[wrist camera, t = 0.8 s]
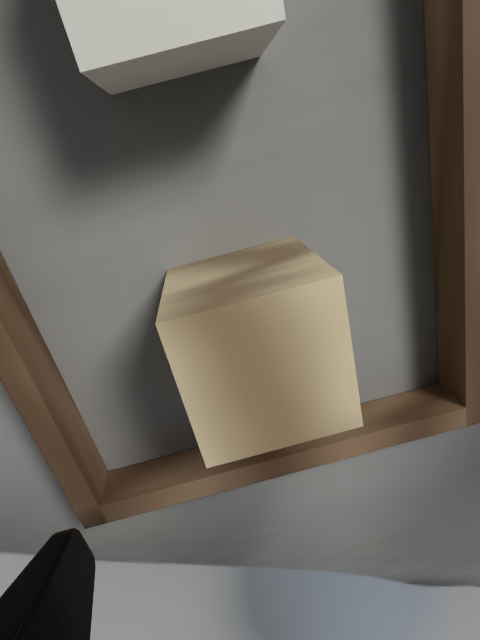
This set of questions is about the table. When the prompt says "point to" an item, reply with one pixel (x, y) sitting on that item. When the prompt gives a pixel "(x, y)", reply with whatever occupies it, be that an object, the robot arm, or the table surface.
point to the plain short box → (165, 37)
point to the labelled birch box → (260, 349)
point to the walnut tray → (378, 416)
